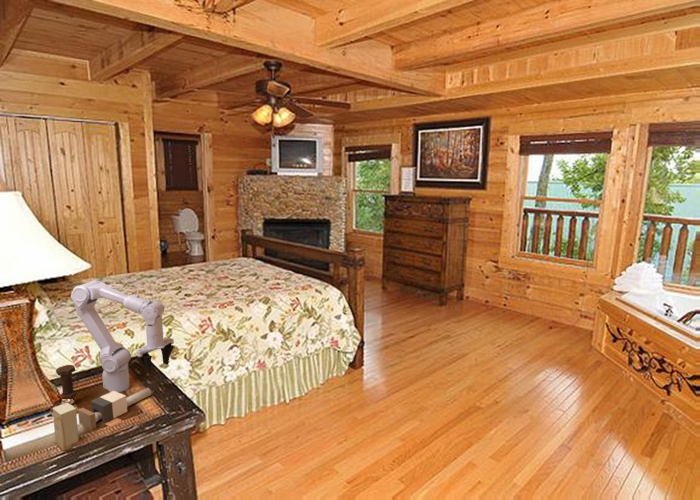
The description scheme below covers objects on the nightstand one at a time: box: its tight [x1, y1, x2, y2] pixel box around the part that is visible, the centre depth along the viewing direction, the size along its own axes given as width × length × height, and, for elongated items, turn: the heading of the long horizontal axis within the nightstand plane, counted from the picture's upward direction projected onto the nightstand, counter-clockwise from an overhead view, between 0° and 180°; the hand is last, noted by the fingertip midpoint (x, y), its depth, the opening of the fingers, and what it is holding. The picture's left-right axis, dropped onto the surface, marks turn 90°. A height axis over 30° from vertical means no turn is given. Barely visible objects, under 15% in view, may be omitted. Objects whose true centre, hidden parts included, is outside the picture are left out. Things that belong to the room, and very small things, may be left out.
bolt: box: [55, 364, 78, 401], centre depth 147 cm, size 6×5×15 cm
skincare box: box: [52, 402, 80, 452], centre depth 126 cm, size 6×4×12 cm
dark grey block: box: [90, 396, 113, 424], centre depth 139 cm, size 7×3×6 cm, turn 62°
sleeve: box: [100, 391, 128, 420], centre depth 142 cm, size 7×5×6 cm
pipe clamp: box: [77, 387, 152, 431], centre depth 144 cm, size 16×26×6 cm, turn 152°
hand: (157, 367), depth 158 cm, fingers open, 7 cm apart
